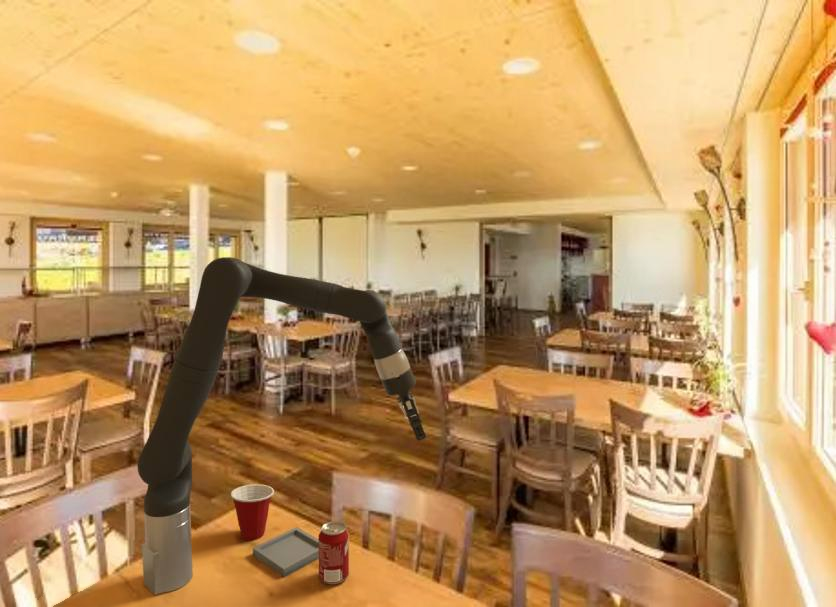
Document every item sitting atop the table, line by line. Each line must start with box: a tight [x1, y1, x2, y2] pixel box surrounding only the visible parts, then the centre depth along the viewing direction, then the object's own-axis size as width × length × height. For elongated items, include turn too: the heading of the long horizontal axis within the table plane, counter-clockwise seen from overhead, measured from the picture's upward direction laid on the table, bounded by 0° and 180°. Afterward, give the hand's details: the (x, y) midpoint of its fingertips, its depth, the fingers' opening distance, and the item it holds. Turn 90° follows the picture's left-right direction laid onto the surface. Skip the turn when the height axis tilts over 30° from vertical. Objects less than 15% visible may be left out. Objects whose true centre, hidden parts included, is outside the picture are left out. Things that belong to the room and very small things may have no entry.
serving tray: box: [252, 526, 319, 578], centre depth 127 cm, size 13×13×2 cm
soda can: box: [317, 520, 350, 585], centre depth 117 cm, size 7×7×12 cm
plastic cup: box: [230, 483, 275, 541], centre depth 135 cm, size 11×11×12 cm
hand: (418, 432), depth 123 cm, fingers open, 8 cm apart
